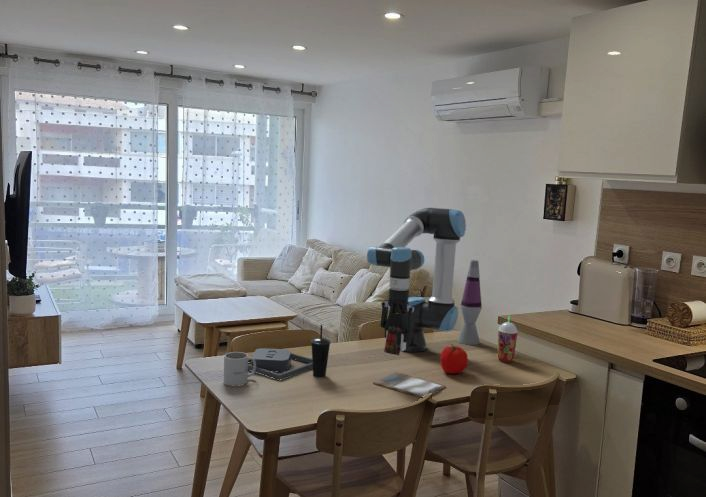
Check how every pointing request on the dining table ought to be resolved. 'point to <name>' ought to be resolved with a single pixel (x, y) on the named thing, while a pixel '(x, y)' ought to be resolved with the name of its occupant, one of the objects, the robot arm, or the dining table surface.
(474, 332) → the lamp
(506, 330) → the smoothie
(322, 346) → the drinking cup
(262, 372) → the frame
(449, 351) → the tomato
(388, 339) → the deodorant
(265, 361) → the streaming box
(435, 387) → the silver rectangular panel
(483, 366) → the dining table surface
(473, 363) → the dining table surface
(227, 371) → the mug
